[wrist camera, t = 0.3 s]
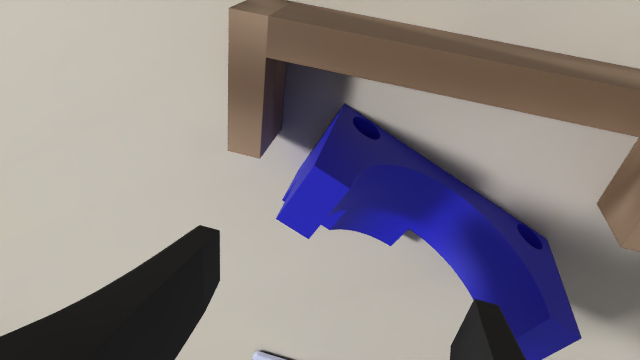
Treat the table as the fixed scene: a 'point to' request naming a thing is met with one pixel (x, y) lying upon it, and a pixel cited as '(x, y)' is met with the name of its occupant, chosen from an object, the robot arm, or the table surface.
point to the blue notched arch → (432, 225)
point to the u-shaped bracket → (427, 80)
